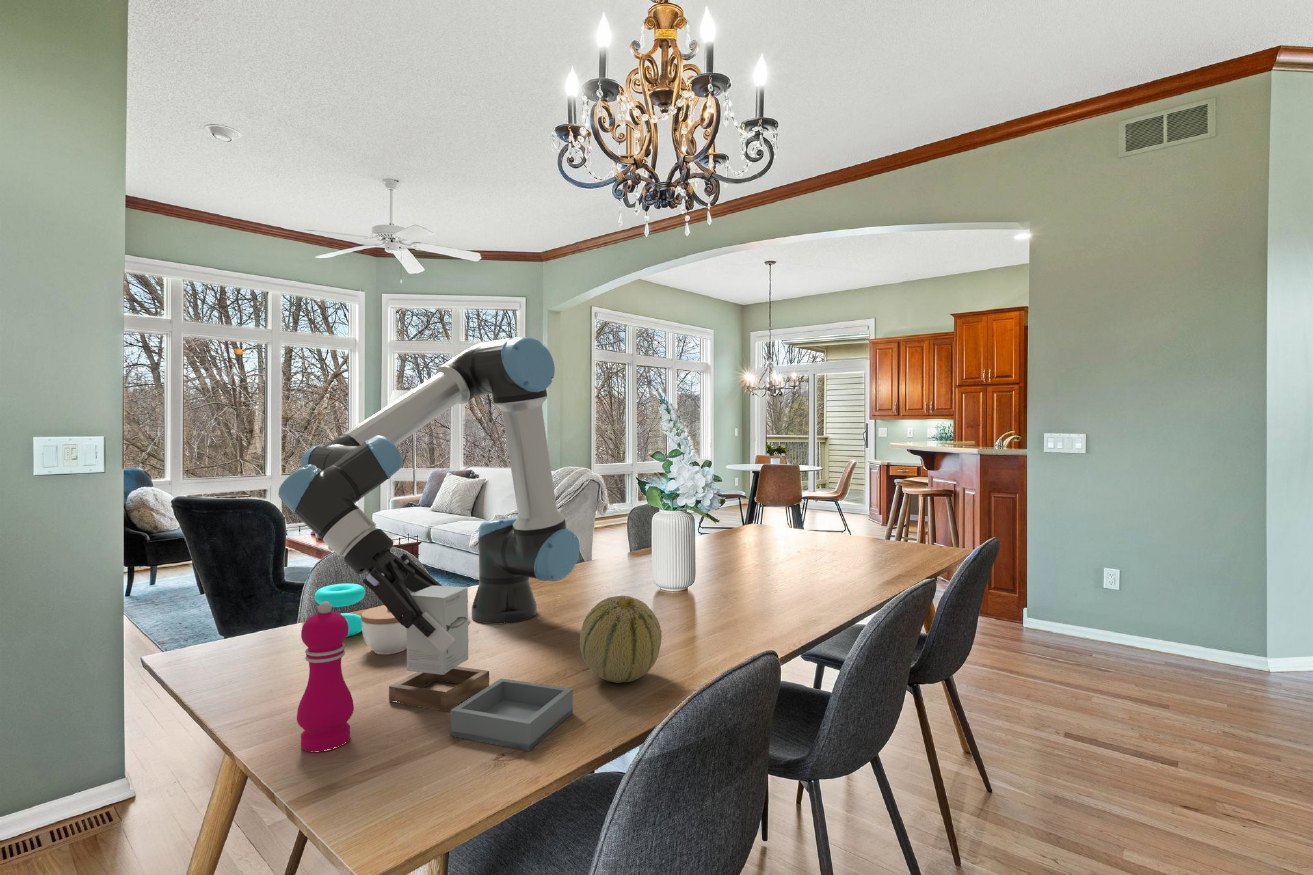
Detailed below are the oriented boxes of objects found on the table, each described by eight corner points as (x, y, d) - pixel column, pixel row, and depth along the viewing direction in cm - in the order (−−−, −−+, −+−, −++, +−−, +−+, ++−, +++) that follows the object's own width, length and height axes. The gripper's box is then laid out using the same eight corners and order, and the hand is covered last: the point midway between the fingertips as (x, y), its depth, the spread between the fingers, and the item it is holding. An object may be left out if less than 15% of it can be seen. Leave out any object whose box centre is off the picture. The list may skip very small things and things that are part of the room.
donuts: (317, 584, 147) (366, 580, 151) (318, 628, 148) (366, 624, 151) (311, 594, 138) (363, 590, 141) (311, 642, 138) (363, 637, 142)
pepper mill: (310, 731, 97) (309, 595, 97) (361, 729, 98) (360, 594, 98) (287, 755, 90) (286, 609, 90) (342, 753, 91) (341, 607, 90)
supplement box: (444, 675, 106) (443, 597, 106) (405, 671, 109) (404, 594, 108) (470, 659, 114) (469, 586, 113) (433, 655, 116) (431, 583, 115)
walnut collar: (434, 676, 119) (434, 662, 119) (489, 685, 115) (489, 670, 115) (389, 701, 108) (388, 686, 108) (447, 711, 104) (447, 695, 104)
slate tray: (501, 701, 108) (501, 678, 108) (572, 712, 103) (572, 688, 103) (450, 736, 96) (450, 710, 96) (529, 750, 91) (529, 723, 91)
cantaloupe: (609, 659, 128) (609, 581, 127) (676, 673, 120) (676, 591, 120) (561, 684, 115) (561, 598, 115) (633, 702, 107) (633, 610, 107)
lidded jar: (428, 648, 134) (427, 602, 134) (375, 662, 126) (375, 613, 126) (403, 637, 141) (403, 593, 141) (352, 649, 133) (351, 603, 133)
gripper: (372, 546, 121) (460, 632, 122) (311, 573, 100) (419, 677, 100) (400, 517, 121) (489, 603, 122) (345, 538, 100) (453, 642, 100)
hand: (457, 636), depth 111 cm, fingers closed on supplement box, 9 cm apart
